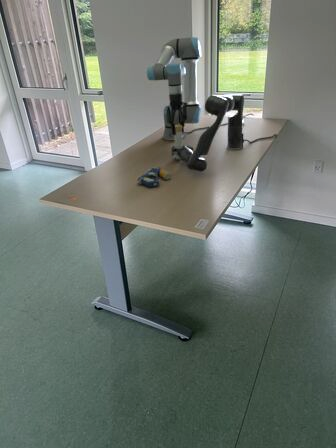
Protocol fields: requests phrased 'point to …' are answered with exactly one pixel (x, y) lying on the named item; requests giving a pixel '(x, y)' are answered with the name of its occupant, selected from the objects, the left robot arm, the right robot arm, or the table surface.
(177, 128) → the lid
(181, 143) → the white cylinder
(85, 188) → the table surface
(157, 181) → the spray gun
